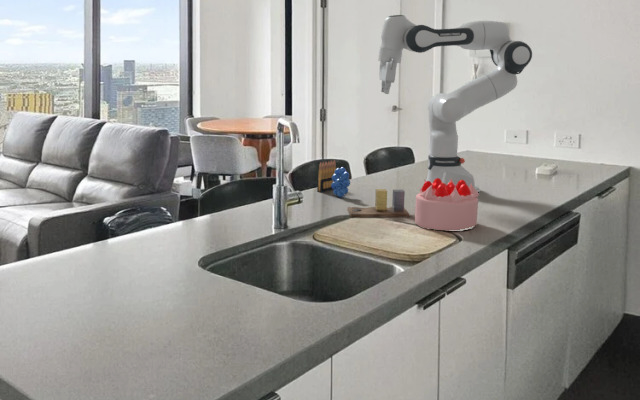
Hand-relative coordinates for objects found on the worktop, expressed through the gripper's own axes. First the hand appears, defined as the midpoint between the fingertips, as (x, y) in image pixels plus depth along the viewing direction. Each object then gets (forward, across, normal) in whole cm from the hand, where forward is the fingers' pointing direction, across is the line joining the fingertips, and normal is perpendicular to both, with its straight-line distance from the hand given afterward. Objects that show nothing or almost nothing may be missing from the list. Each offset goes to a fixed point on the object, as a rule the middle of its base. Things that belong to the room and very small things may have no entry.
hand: (384, 93), depth 256 cm
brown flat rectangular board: (+39, -41, +2) cm, 56 cm away
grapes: (+41, -14, +12) cm, 45 cm away
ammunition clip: (+42, 0, +18) cm, 45 cm away
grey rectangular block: (+38, -41, -5) cm, 56 cm away
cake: (+37, -56, -18) cm, 70 cm away
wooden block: (+38, -41, +1) cm, 55 cm away
